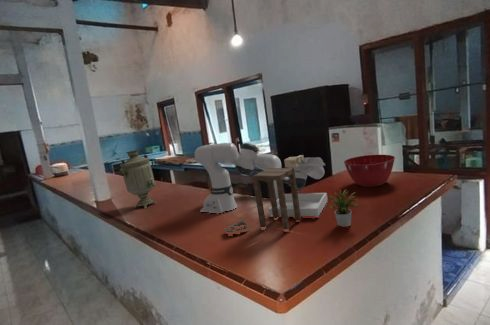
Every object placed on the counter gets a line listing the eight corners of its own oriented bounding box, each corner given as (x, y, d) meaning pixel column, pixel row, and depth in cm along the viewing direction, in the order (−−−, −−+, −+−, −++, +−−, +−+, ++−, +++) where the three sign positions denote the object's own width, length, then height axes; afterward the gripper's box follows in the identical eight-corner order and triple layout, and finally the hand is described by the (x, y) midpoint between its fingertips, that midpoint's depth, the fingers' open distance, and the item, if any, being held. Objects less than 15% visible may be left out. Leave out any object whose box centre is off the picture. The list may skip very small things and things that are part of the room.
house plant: (337, 236, 124) (332, 197, 121) (319, 225, 137) (315, 190, 134) (367, 227, 127) (363, 189, 124) (347, 217, 140) (343, 183, 138)
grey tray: (269, 217, 156) (268, 208, 155) (283, 202, 177) (282, 193, 176) (318, 218, 145) (317, 208, 144) (327, 201, 166) (326, 192, 165)
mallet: (297, 161, 165) (296, 153, 164) (307, 160, 161) (306, 153, 161) (285, 167, 154) (284, 159, 153) (296, 167, 150) (295, 159, 150)
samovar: (132, 216, 197) (118, 155, 190) (119, 210, 217) (106, 155, 210) (174, 202, 215) (162, 146, 208) (158, 197, 235) (147, 146, 229)
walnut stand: (275, 218, 153) (268, 168, 149) (301, 221, 145) (294, 167, 140) (260, 230, 142) (252, 176, 138) (287, 233, 134) (279, 175, 129)
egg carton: (245, 227, 149) (244, 219, 148) (250, 232, 142) (249, 224, 141) (224, 233, 146) (223, 225, 146) (228, 238, 139) (226, 230, 138)
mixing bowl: (336, 186, 192) (333, 162, 189) (369, 175, 203) (367, 152, 201) (372, 194, 167) (369, 166, 164) (408, 181, 178) (406, 155, 175)
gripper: (326, 171, 163) (316, 163, 152) (291, 171, 175) (280, 164, 164) (327, 159, 164) (317, 151, 154) (292, 161, 176) (281, 153, 166)
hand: (297, 158), depth 159 cm, fingers closed on mallet, 2 cm apart
